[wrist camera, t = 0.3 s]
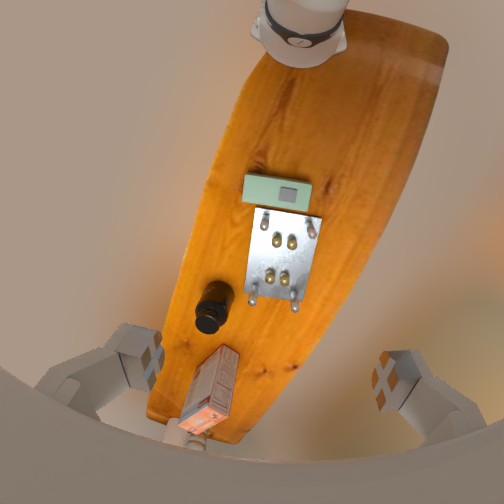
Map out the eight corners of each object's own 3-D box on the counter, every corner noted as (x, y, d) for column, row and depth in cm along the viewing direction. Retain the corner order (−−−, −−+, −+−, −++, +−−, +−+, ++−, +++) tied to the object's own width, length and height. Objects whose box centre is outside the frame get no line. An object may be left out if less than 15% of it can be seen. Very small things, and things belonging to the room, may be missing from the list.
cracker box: (212, 378, 73) (196, 436, 54) (195, 367, 72) (175, 425, 53) (241, 354, 68) (230, 418, 49) (223, 342, 67) (205, 406, 48)
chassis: (256, 206, 54) (252, 215, 47) (320, 217, 53) (326, 227, 46) (244, 290, 61) (240, 308, 54) (301, 299, 60) (304, 317, 54)
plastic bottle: (215, 410, 79) (204, 459, 61) (212, 420, 82) (201, 466, 64) (197, 405, 79) (182, 453, 61) (194, 415, 82) (181, 460, 63)
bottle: (165, 420, 86) (142, 482, 58) (175, 414, 83) (152, 481, 56) (182, 430, 88) (162, 492, 60) (193, 425, 85) (174, 491, 57)
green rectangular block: (244, 197, 53) (241, 202, 49) (247, 172, 52) (244, 174, 47) (305, 206, 53) (307, 212, 48) (309, 182, 51) (312, 185, 46)
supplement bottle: (208, 276, 60) (193, 305, 49) (237, 286, 61) (229, 317, 49) (201, 300, 63) (187, 331, 52) (229, 310, 63) (220, 342, 52)
